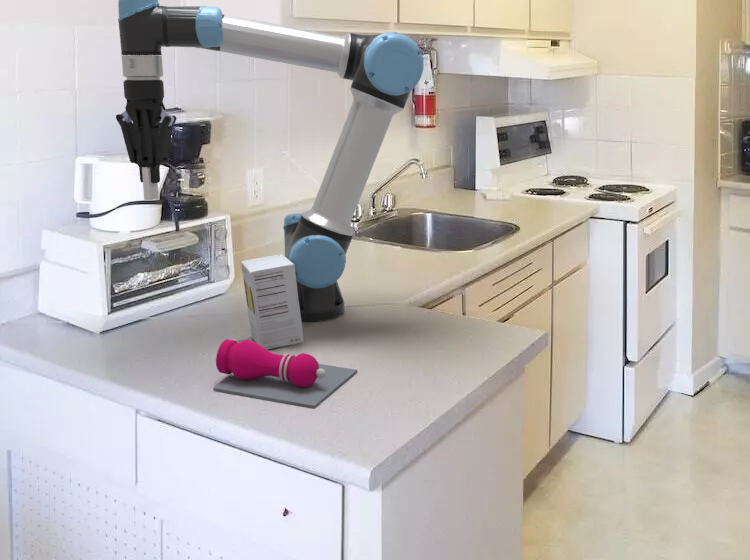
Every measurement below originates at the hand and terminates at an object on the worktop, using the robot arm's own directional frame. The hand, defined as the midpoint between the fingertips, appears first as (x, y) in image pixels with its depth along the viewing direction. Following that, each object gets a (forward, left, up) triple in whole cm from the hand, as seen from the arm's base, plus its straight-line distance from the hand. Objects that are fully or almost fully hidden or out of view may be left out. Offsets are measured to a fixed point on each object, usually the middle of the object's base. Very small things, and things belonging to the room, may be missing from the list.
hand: (151, 198), depth 170 cm
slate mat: (-18, +34, -29) cm, 48 cm away
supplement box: (-22, +12, -29) cm, 38 cm away
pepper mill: (-7, +28, -25) cm, 38 cm away
